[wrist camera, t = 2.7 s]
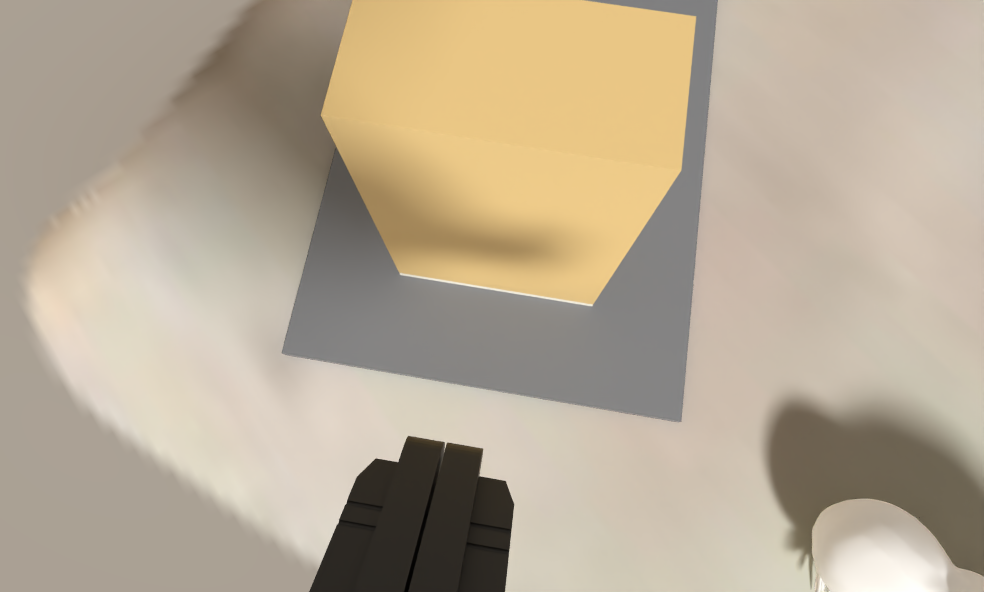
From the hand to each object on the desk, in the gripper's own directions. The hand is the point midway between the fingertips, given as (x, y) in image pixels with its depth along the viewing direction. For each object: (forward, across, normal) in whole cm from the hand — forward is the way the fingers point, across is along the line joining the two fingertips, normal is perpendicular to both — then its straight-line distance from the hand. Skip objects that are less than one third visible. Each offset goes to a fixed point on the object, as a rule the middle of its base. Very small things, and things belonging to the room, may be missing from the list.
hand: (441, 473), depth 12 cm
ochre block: (+14, 0, +2) cm, 15 cm away
